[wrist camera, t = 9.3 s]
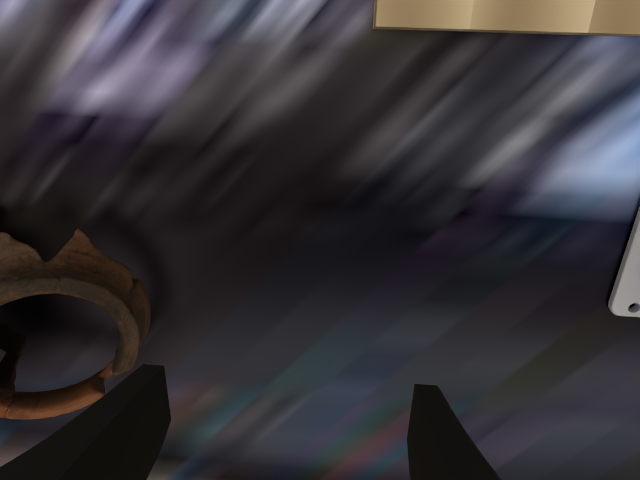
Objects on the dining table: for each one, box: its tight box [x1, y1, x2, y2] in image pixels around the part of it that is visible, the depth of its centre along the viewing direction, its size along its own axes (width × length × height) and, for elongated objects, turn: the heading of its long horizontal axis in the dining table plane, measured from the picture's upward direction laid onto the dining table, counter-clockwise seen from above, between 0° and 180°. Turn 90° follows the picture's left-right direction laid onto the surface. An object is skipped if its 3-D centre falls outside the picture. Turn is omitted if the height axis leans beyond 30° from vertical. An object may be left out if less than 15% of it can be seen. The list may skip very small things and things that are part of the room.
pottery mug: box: [0, 229, 151, 419], centre depth 22 cm, size 12×9×8 cm
